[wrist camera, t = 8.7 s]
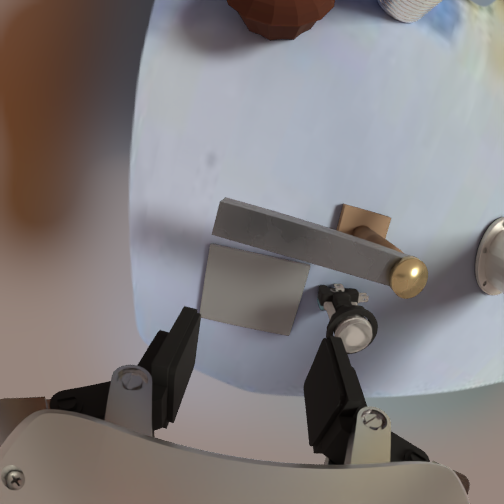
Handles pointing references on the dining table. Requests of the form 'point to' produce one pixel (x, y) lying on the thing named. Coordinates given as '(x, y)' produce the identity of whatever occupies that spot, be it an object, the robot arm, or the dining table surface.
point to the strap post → (365, 225)
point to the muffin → (281, 16)
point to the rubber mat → (252, 289)
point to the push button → (347, 317)
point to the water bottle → (408, 9)
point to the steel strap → (320, 246)
